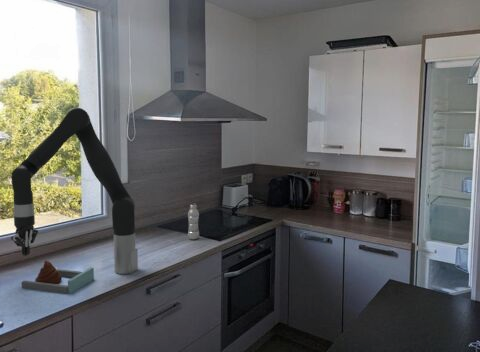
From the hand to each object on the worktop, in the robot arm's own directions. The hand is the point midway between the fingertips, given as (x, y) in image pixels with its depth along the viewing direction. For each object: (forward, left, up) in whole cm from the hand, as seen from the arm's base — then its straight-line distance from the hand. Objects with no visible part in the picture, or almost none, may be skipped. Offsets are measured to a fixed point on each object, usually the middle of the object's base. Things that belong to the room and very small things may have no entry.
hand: (26, 254), depth 172 cm
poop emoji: (-10, 0, -11) cm, 15 cm away
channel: (-15, 0, -11) cm, 18 cm away
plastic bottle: (-46, -75, -11) cm, 89 cm away
